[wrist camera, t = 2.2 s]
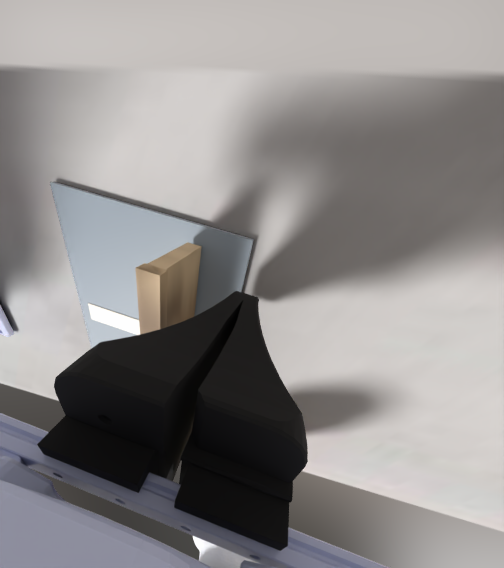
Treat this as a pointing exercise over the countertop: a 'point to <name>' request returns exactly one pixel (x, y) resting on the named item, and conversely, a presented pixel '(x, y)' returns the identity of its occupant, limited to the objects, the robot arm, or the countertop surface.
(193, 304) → the wooden flat block
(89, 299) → the card
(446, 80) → the countertop surface
